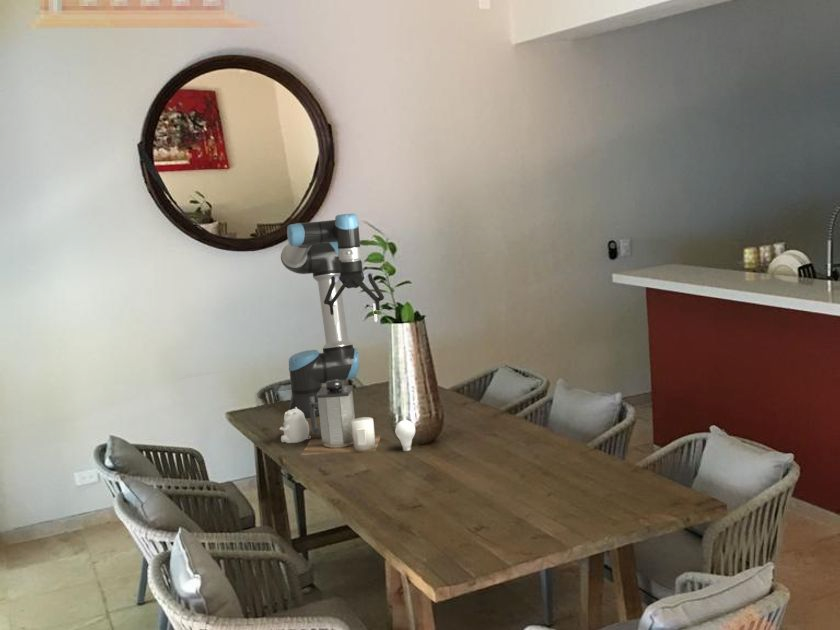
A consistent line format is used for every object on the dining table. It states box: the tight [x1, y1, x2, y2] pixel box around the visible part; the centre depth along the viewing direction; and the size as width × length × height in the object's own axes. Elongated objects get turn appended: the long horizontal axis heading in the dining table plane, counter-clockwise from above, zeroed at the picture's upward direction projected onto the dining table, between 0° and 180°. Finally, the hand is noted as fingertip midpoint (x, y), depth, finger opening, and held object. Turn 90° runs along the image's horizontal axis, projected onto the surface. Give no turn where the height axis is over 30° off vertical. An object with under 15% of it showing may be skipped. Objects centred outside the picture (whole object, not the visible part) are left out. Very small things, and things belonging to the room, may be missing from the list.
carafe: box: [309, 384, 356, 448], centre depth 285 cm, size 11×14×18 cm
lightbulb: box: [394, 419, 416, 452], centre depth 273 cm, size 6×6×11 cm
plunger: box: [325, 380, 343, 391], centre depth 284 cm, size 8×8×18 cm
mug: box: [351, 416, 376, 452], centre depth 278 cm, size 9×7×9 cm
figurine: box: [278, 407, 311, 444], centre depth 295 cm, size 10×10×12 cm
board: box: [300, 434, 382, 456], centre depth 284 cm, size 16×24×2 cm, turn 87°
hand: (356, 322), depth 295 cm, fingers open, 13 cm apart
